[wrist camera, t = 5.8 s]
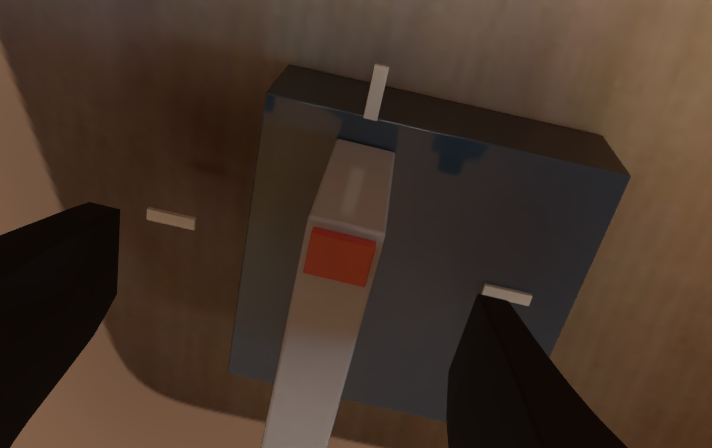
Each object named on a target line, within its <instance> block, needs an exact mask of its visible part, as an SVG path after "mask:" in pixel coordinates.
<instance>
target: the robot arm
mask: <svg viewBox="0 0 712 448" xmlns="http://www.w3.org/2000/svg"><path fill="white" fill-rule="evenodd" d="M119 226H120V209H116V208H112V207H108V206H104V205H99V204H95V203H91V202H89V203H86V204H82V205H79V206H76V207H73V208H70V209H68V210H65V211H62V212H60V213H57V214H55V215H52V216H49V217H47V218H44V219H42V220H39V221H37V222H34V223H32V224H29V225H26V226H24V227H21V228H19V229H16V230H13V231H10V232H8V233H6V234H3V235H0V448H10V447H11V445H12V444H13V442H14V440H15V439H16V438H17V436H18V435H19V433H20V432H21V430H22V429H23V428H24V426H25V425H26V423H27V422H28V421H29V419H30V418H31V417H32V415H33V414H34V413H35V411H36V410H37V409H38V407H39V406H40V405H41V404H42V402H43V401H44V400H45V398H46V397H47V396H48V395H49V393H50V392H51V391H52V389H53V388H54V387H55V385H56V384H57V383H58V381H59V380H60V379H61V378H62V376H63V375H64V374H65V373H66V371H67V370H68V369H69V367H70V366H71V365H72V363H73V362H74V361H75V359H76V358H77V357H78V355H79V354H80V353H81V351H82V350H83V349H84V348H85V346H86V345H87V344H88V342H89V341H90V340H91V338H92V337H93V335H94V334H95V332H96V330H97V329H98V327H99V325H100V324H101V322H102V320H103V319H104V317H105V315H106V313H107V311H108V309H109V308H110V306H111V304H112V302H113V300H114V298H115V296H116V295H117V278H118V252H119ZM446 420H447V433H448V445H449V448H627V447H626V446H625V444H624V443H623V442H622V441H621V440H620V439H619V438H618V437H617V436H616V435H615V434H614V433H613V432H612V431H611V430H610V429H609V428H608V427H607V426H606V425H605V424H604V423H603V422H602V421H601V420H600V419H599V418H598V417H597V416H596V415H595V414H594V412H593V411H592V410H591V409H590V408H589V407H588V406H587V404H586V403H585V402H584V401H583V400H582V398H581V397H580V396H579V395H578V394H577V393H576V391H575V390H574V389H573V388H572V387H571V385H570V384H569V383H568V382H567V380H566V379H565V378H564V377H563V375H562V374H561V373H560V372H559V370H558V369H557V368H556V366H555V365H554V364H553V362H552V361H551V360H550V358H549V357H548V356H547V354H546V353H545V352H544V350H543V349H542V348H541V346H540V345H539V343H538V342H537V341H536V339H535V338H534V336H533V335H532V334H531V332H530V331H529V329H528V328H527V326H526V325H525V324H524V322H523V321H522V319H521V318H520V317H519V315H518V314H517V312H516V311H515V310H514V308H513V307H512V305H511V304H510V303H509V302H508V300H503V299H499V298H495V297H491V296H486V295H482V294H477V296H476V299H475V302H474V304H473V307H472V310H471V312H470V315H469V318H468V320H467V323H466V326H465V328H464V331H463V334H462V336H461V339H460V342H459V344H458V347H457V350H456V352H455V355H454V358H453V360H452V363H451V366H450V368H449V371H448V388H447V409H446Z"/></svg>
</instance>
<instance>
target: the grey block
mask: <svg viewBox="0 0 712 448" xmlns="http://www.w3.org/2000/svg"><path fill="white" fill-rule="evenodd" d="M394 163H395V153H394V152H391V151H387V150H383V149H379V148H375V147H370V146H366V145H362V144H358V143H354V142H350V141H346V140H341V139H337V140H336V141H335V144H334V146H333V149H332V152H331V155H330V157H329V160H328V163H327V166H326V168H325V171H324V174H323V177H322V179H321V182H320V185H319V188H318V191H317V193H316V196H315V199H314V202H313V204H312V207H311V210H310V213H309V215H308V219H307V223H306V228H305V233H304V238H303V243H302V248H301V253H300V258H299V263H298V268H297V272H296V277H295V282H294V287H293V292H292V297H291V302H290V307H289V312H288V317H287V321H286V326H285V331H284V336H283V341H282V346H281V351H280V356H279V361H278V366H277V370H276V375H275V380H274V385H273V390H272V395H271V400H270V405H269V410H268V415H267V419H266V424H265V429H264V434H263V439H262V444H261V448H327V447H328V443H329V440H330V436H331V432H332V429H333V425H334V422H335V418H336V414H337V411H338V407H339V403H340V400H341V396H342V393H343V389H344V385H345V382H346V378H347V374H348V371H349V367H350V364H351V360H352V356H353V353H354V349H355V345H356V342H357V338H358V335H359V331H360V327H361V324H362V320H363V316H364V313H365V309H366V306H367V302H368V298H369V295H370V291H371V288H372V284H373V280H374V277H375V273H376V269H377V266H378V262H379V259H380V255H381V251H382V248H383V244H384V240H385V237H386V229H387V221H388V213H389V204H390V196H391V188H392V179H393V171H394Z"/></svg>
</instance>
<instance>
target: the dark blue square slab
mask: <svg viewBox="0 0 712 448" xmlns="http://www.w3.org/2000/svg"><path fill="white" fill-rule="evenodd" d="M388 71H389V66H387V65H383V64H378V63H375V66H374V70H373V75H372V79H371V83H368V82H364V81H359V80H355V79H351V78H346V77H342V76H337V75H333V74H329V73H324V72H320V71H316V70H311V69H307V68H303V67H298V66H294V65H288V66H287V67H286V68H285V69H284V71H283V72H282V73H281V75H280V76H279V77H278V78H277V80H276V81H275V82H274V83H273V85H272V86H271V87H270V89H269V90H268V91H267V92H266V95H265V102H264V109H263V117H262V124H261V131H260V138H259V146H258V153H257V160H256V168H255V175H254V182H253V189H252V197H251V204H250V211H249V219H248V226H247V233H246V240H245V248H244V255H243V262H242V270H241V277H240V284H239V291H238V299H237V306H236V313H235V320H234V328H233V335H232V342H231V350H230V357H229V364H228V373H229V374H233V375H238V376H242V377H247V378H251V379H256V380H260V381H265V382H269V383H273V384H274V380H275V375H276V370H277V366H278V361H279V356H280V351H281V346H282V341H283V336H284V331H285V326H286V321H287V317H288V312H289V307H290V302H291V297H292V292H293V287H294V282H295V277H296V272H297V268H298V263H299V258H300V253H301V248H302V243H303V238H304V233H305V228H306V223H307V219H308V215H309V213H310V210H311V207H312V204H313V202H314V199H315V196H316V193H317V191H318V188H319V185H320V182H321V179H322V177H323V174H324V171H325V168H326V166H327V163H328V160H329V157H330V155H331V152H332V149H333V146H334V144H335V141H336V140H337V139H341V140H346V141H350V142H354V143H358V144H362V145H366V146H370V147H375V148H379V149H383V150H387V151H391V152H394V153H395V163H394V171H393V179H392V188H391V196H390V204H389V213H388V221H387V229H386V237H385V240H384V244H383V248H382V251H381V255H380V259H379V262H378V266H377V269H376V273H375V277H374V280H373V284H372V288H371V291H370V295H369V298H368V302H367V306H366V309H365V313H364V316H363V320H362V324H361V327H360V331H359V335H358V338H357V342H356V345H355V349H354V353H353V356H352V360H351V364H350V367H349V371H348V374H347V378H346V382H345V385H344V389H343V393H342V396H341V399H345V400H349V401H354V402H358V403H362V404H367V405H371V406H376V407H380V408H385V409H389V410H394V411H398V412H402V413H407V414H411V415H416V416H420V417H425V418H429V419H434V420H438V421H442V422H447V420H446V409H447V388H448V371H449V368H450V366H451V363H452V360H453V358H454V355H455V352H456V350H457V347H458V344H459V342H460V339H461V336H462V334H463V331H464V328H465V326H466V323H467V320H468V318H469V315H470V312H471V310H472V307H473V304H474V302H475V299H476V296H477V294H482V295H486V296H491V297H495V298H499V299H503V300H508V302H509V303H510V304H511V305H512V307H513V308H514V310H515V311H516V312H517V314H518V315H519V317H520V318H521V319H522V321H523V322H524V324H525V325H526V326H527V328H528V329H529V331H530V332H531V334H532V335H533V336H534V338H535V339H536V341H537V342H538V343H539V345H540V346H541V348H542V349H543V350H544V352H545V353H546V354H547V356H548V357H550V355H551V352H552V350H553V348H554V346H555V344H556V341H557V339H558V337H559V335H560V333H561V330H562V328H563V326H564V324H565V321H566V319H567V317H568V315H569V313H570V310H571V308H572V306H573V304H574V301H575V299H576V297H577V295H578V293H579V290H580V288H581V286H582V284H583V282H584V279H585V277H586V275H587V273H588V270H589V268H590V266H591V264H592V262H593V259H594V257H595V255H596V253H597V251H598V248H599V246H600V244H601V242H602V239H603V237H604V235H605V233H606V231H607V228H608V226H609V224H610V222H611V219H612V217H613V215H614V213H615V211H616V208H617V206H618V204H619V202H620V200H621V197H622V195H623V193H624V191H625V188H626V186H627V184H628V182H629V180H630V177H631V175H630V174H629V173H628V171H627V170H626V168H625V167H624V166H623V164H622V163H621V161H620V160H619V158H618V157H617V156H616V154H615V153H614V151H613V150H612V149H611V147H610V146H609V144H608V143H607V141H606V140H605V139H604V137H603V136H600V135H595V134H591V133H587V132H582V131H578V130H574V129H569V128H565V127H560V126H556V125H552V124H547V123H543V122H539V121H534V120H530V119H525V118H521V117H517V116H512V115H508V114H504V113H499V112H495V111H490V110H486V109H482V108H477V107H473V106H469V105H464V104H460V103H456V102H451V101H447V100H442V99H438V98H434V97H429V96H425V95H421V94H416V93H412V92H407V91H403V90H399V89H394V88H390V87H386V86H385V84H386V80H387V75H388ZM146 219H147V220H150V221H155V222H159V223H163V224H168V225H172V226H177V227H181V228H185V229H190V230H195V228H196V220H197V218H196V217H192V216H188V215H183V214H179V213H174V212H170V211H166V210H161V209H157V208H152V207H148V208H147V218H146Z"/></svg>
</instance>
